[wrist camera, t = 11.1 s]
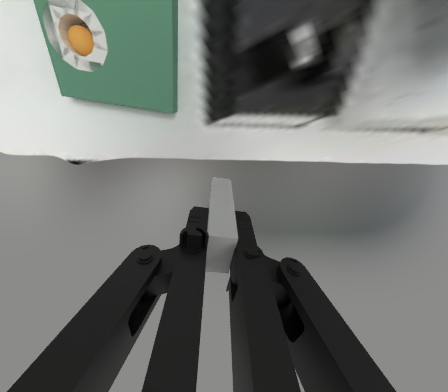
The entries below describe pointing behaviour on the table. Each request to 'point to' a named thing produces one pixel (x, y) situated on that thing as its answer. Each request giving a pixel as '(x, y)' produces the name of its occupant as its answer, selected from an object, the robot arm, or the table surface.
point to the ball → (81, 39)
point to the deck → (116, 50)
